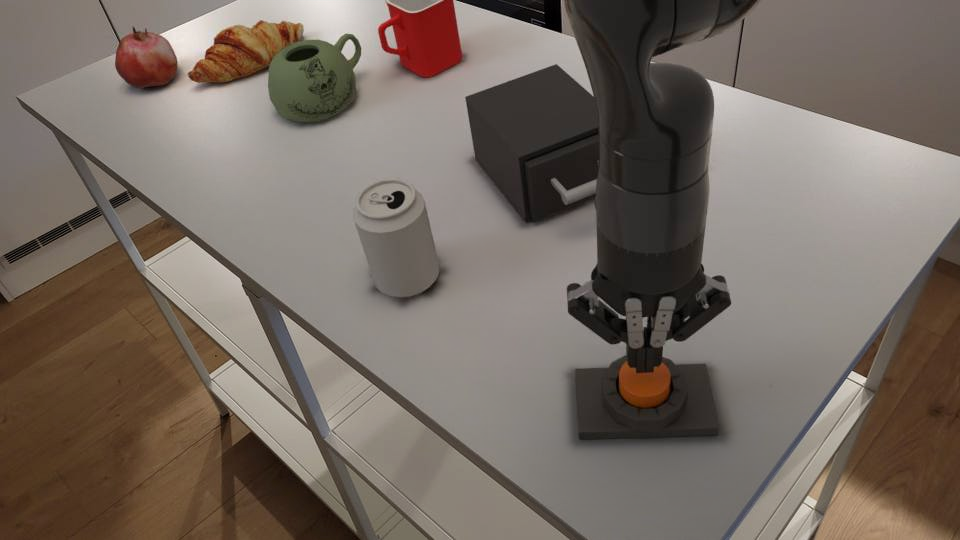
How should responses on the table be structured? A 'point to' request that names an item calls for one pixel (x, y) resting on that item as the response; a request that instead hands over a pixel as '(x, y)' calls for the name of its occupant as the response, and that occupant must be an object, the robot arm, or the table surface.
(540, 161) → the small dark drawer
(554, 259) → the table surface
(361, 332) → the table surface
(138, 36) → the fruit
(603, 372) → the control block
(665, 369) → the button
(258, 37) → the croissant
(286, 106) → the mug
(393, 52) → the mug
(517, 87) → the black drawer cabinet
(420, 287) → the can
